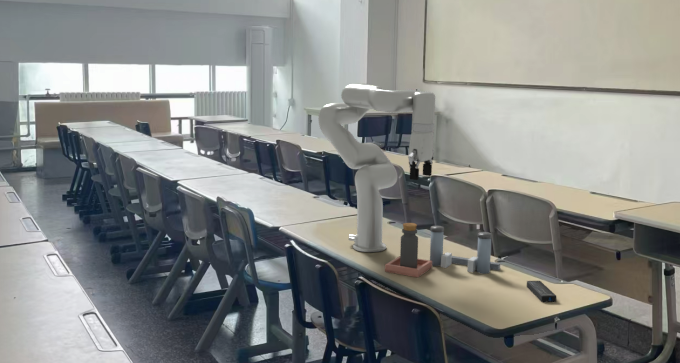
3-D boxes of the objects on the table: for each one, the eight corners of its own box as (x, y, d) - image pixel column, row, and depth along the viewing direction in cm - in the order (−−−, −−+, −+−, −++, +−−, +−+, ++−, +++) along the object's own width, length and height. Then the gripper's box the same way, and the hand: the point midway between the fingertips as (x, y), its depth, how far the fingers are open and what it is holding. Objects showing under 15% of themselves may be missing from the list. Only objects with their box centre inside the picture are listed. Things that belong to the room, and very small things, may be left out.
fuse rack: (422, 264, 238) (423, 227, 236) (432, 258, 246) (433, 222, 243) (492, 275, 226) (494, 236, 224) (500, 268, 233) (501, 231, 231)
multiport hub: (539, 287, 216) (540, 280, 215) (556, 303, 202) (556, 295, 201) (526, 287, 216) (526, 280, 215) (541, 303, 201) (542, 296, 201)
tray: (385, 271, 230) (385, 264, 229) (400, 262, 240) (400, 255, 240) (417, 277, 224) (418, 270, 223) (431, 267, 234) (432, 260, 234)
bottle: (416, 270, 229) (417, 226, 226) (399, 269, 230) (400, 225, 227) (417, 265, 234) (419, 222, 232) (400, 264, 235) (402, 221, 233)
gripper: (424, 125, 242) (422, 172, 246) (400, 129, 228) (399, 179, 231) (443, 127, 238) (441, 175, 241) (421, 131, 224) (418, 182, 227)
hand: (420, 177), depth 236 cm, fingers open, 9 cm apart
